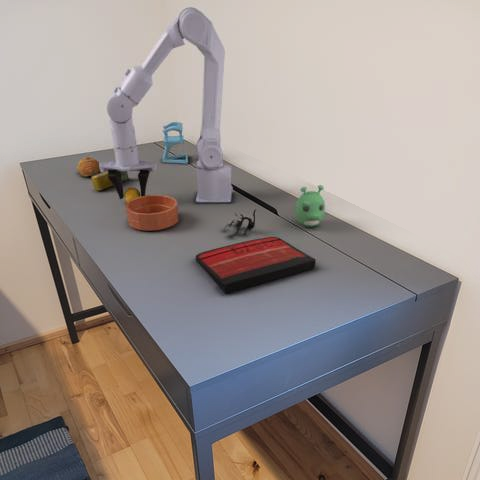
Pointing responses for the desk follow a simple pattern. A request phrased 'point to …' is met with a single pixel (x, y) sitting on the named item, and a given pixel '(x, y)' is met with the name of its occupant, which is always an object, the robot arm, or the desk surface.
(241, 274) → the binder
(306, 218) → the alien toy
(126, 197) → the blob
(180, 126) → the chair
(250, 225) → the creature
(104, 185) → the medication box
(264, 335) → the desk surface
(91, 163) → the pastry
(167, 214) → the bowl
